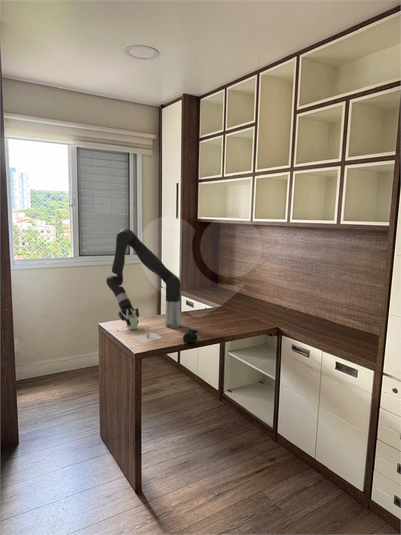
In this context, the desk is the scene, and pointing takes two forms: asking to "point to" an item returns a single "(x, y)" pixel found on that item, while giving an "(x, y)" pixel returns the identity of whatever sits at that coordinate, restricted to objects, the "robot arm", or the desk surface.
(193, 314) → the desk surface
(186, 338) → the end cap
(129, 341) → the desk surface
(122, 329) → the mat
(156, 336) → the peg stand
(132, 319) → the sleeve
